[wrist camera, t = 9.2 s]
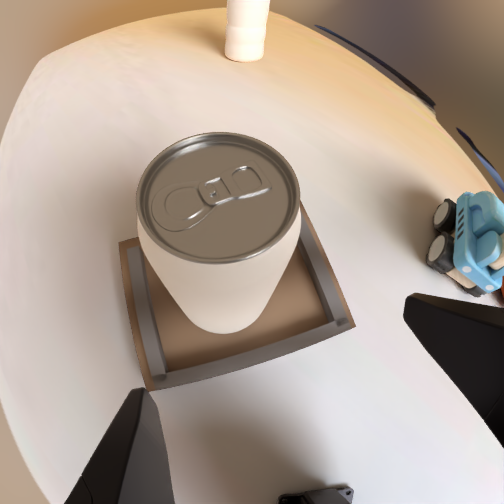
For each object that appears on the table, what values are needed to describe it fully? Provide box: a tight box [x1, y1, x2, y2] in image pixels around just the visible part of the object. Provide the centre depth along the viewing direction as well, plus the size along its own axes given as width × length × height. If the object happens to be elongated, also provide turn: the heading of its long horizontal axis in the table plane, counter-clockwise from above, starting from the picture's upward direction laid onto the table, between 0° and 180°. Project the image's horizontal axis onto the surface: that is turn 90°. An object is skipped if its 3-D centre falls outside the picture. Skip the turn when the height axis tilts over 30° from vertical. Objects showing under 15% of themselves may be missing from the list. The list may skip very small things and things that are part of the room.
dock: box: [119, 200, 356, 392], centre depth 21 cm, size 12×16×4 cm
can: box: [136, 132, 301, 334], centre depth 14 cm, size 6×6×12 cm
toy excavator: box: [426, 191, 504, 297], centre depth 17 cm, size 9×17×17 cm, turn 151°
